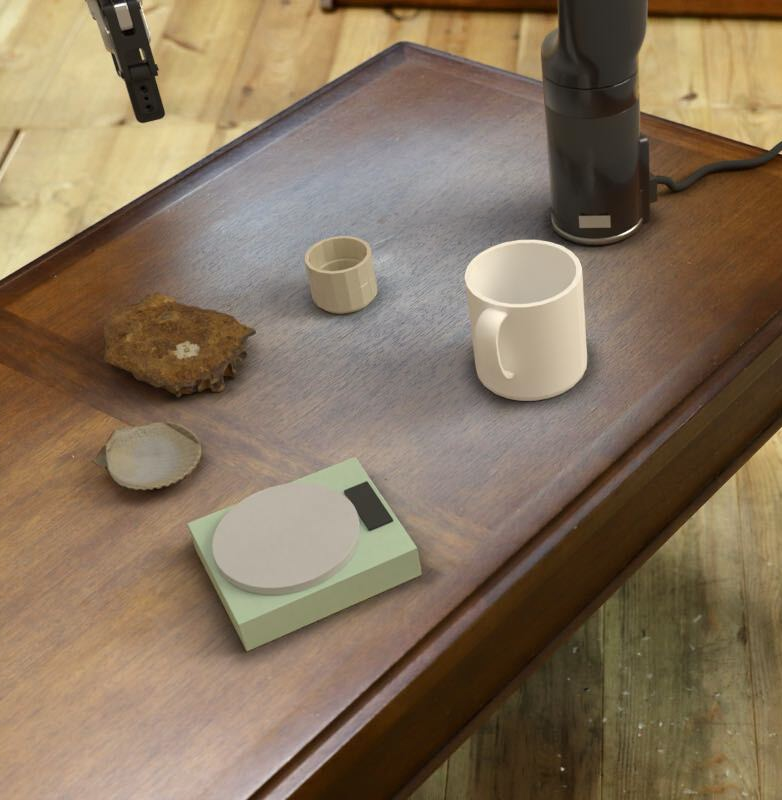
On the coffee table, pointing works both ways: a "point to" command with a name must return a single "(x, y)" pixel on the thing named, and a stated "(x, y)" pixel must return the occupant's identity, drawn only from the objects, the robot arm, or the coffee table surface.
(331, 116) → the coffee table surface
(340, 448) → the coffee table surface
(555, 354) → the mug
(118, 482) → the seashell
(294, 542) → the kitchen scale
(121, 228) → the coffee table surface
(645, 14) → the robot arm
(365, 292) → the beige faceted cup
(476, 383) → the coffee table surface
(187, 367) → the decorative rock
